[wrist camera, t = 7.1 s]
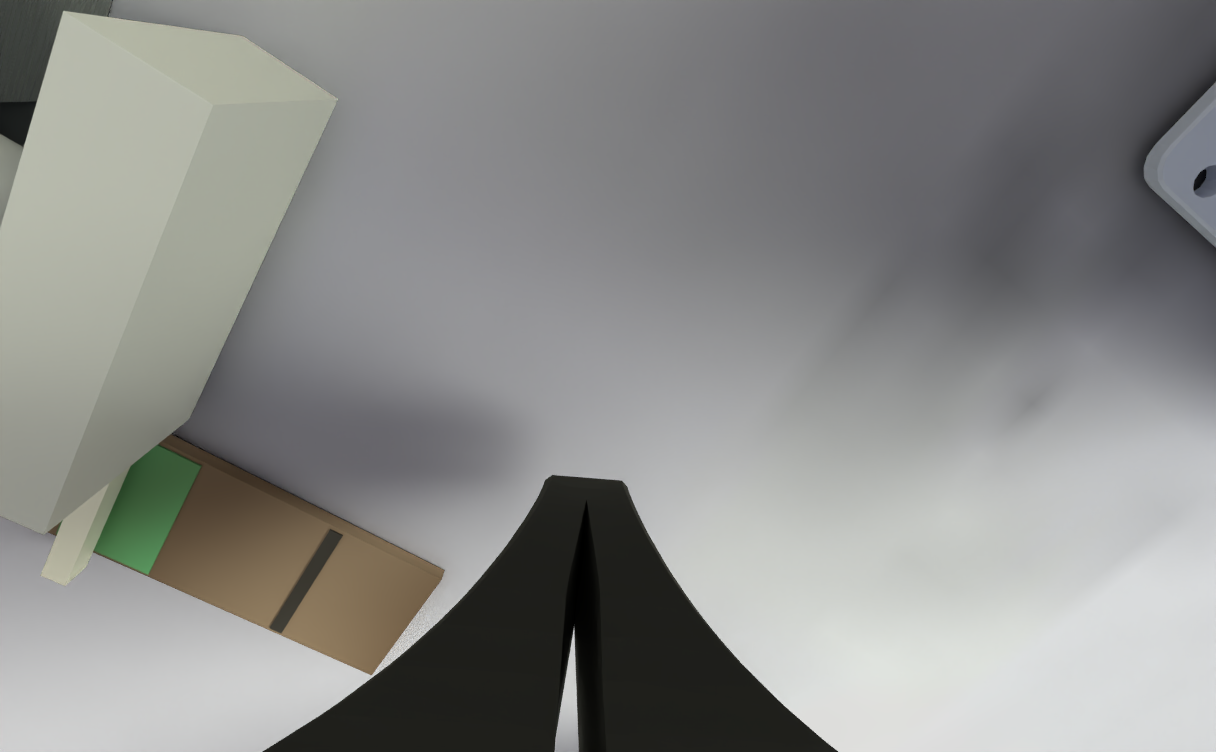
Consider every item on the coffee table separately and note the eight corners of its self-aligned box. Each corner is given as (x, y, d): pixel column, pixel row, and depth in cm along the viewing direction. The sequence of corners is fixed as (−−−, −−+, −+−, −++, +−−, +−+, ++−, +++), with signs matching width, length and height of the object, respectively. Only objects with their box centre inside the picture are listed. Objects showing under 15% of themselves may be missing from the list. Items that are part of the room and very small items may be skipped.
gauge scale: (444, 570, 15) (441, 580, 14) (375, 665, 16) (371, 676, 16) (-70, 314, 12) (-88, 320, 12) (-105, 450, 13) (-122, 459, 13)
